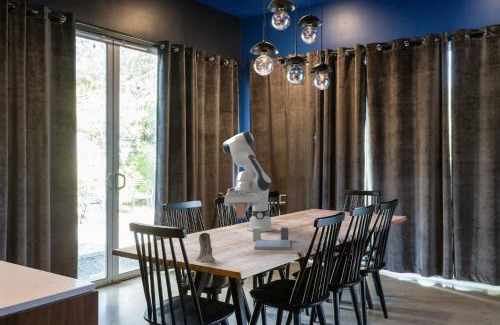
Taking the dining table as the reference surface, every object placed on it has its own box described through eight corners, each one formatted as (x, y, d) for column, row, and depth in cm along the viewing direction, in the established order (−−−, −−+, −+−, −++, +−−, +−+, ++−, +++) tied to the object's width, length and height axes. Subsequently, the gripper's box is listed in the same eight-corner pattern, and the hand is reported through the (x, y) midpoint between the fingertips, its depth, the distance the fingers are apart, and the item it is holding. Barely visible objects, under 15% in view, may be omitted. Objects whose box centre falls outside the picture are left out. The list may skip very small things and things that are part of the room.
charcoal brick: (281, 240, 273) (280, 227, 273) (288, 240, 273) (288, 227, 272) (281, 241, 268) (280, 228, 268) (288, 241, 268) (288, 228, 268)
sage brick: (253, 240, 274) (253, 227, 274) (260, 240, 274) (260, 227, 274) (253, 241, 270) (253, 228, 270) (260, 241, 269) (260, 228, 269)
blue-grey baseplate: (256, 242, 267) (256, 239, 267) (289, 242, 265) (289, 239, 265) (254, 249, 247) (254, 246, 247) (290, 249, 245) (290, 246, 245)
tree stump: (201, 263, 217) (200, 235, 217) (192, 259, 225) (192, 233, 225) (219, 260, 222) (218, 233, 222) (209, 257, 231) (209, 231, 231)
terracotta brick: (237, 217, 257) (237, 203, 257) (245, 217, 256) (245, 203, 256) (236, 218, 252) (236, 204, 252) (244, 218, 252) (244, 204, 252)
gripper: (260, 195, 265) (259, 213, 255) (226, 196, 267) (224, 214, 257) (259, 188, 260) (258, 206, 250) (225, 189, 262) (223, 207, 252)
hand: (241, 210), depth 254 cm, fingers closed on terracotta brick, 4 cm apart
